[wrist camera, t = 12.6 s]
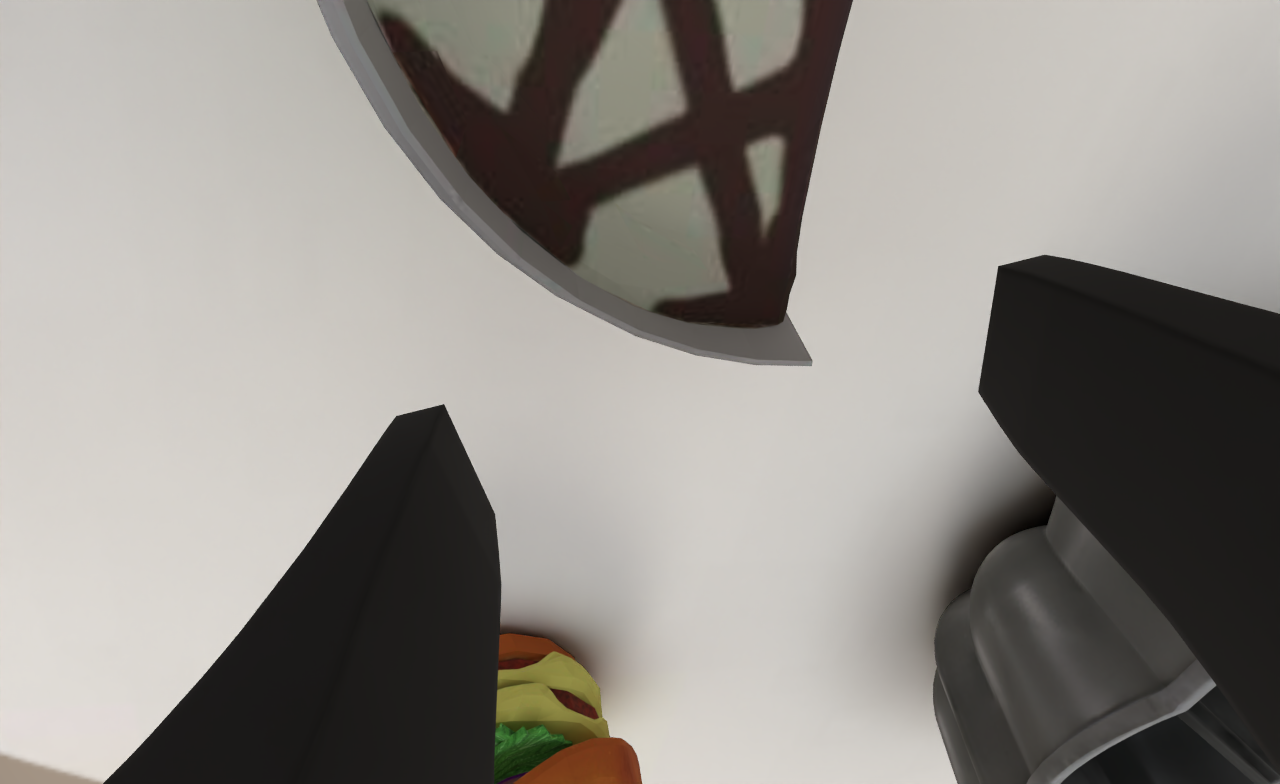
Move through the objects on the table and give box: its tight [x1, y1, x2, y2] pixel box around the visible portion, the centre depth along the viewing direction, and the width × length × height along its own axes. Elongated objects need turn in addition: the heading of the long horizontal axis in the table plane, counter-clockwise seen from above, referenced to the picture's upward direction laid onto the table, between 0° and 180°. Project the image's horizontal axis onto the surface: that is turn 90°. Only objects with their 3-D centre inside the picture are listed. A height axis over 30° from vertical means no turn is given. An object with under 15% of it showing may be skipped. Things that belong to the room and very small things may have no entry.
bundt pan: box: [933, 496, 1280, 784], centre depth 29 cm, size 26×26×10 cm
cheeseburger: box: [494, 633, 642, 784], centre depth 27 cm, size 10×11×10 cm
